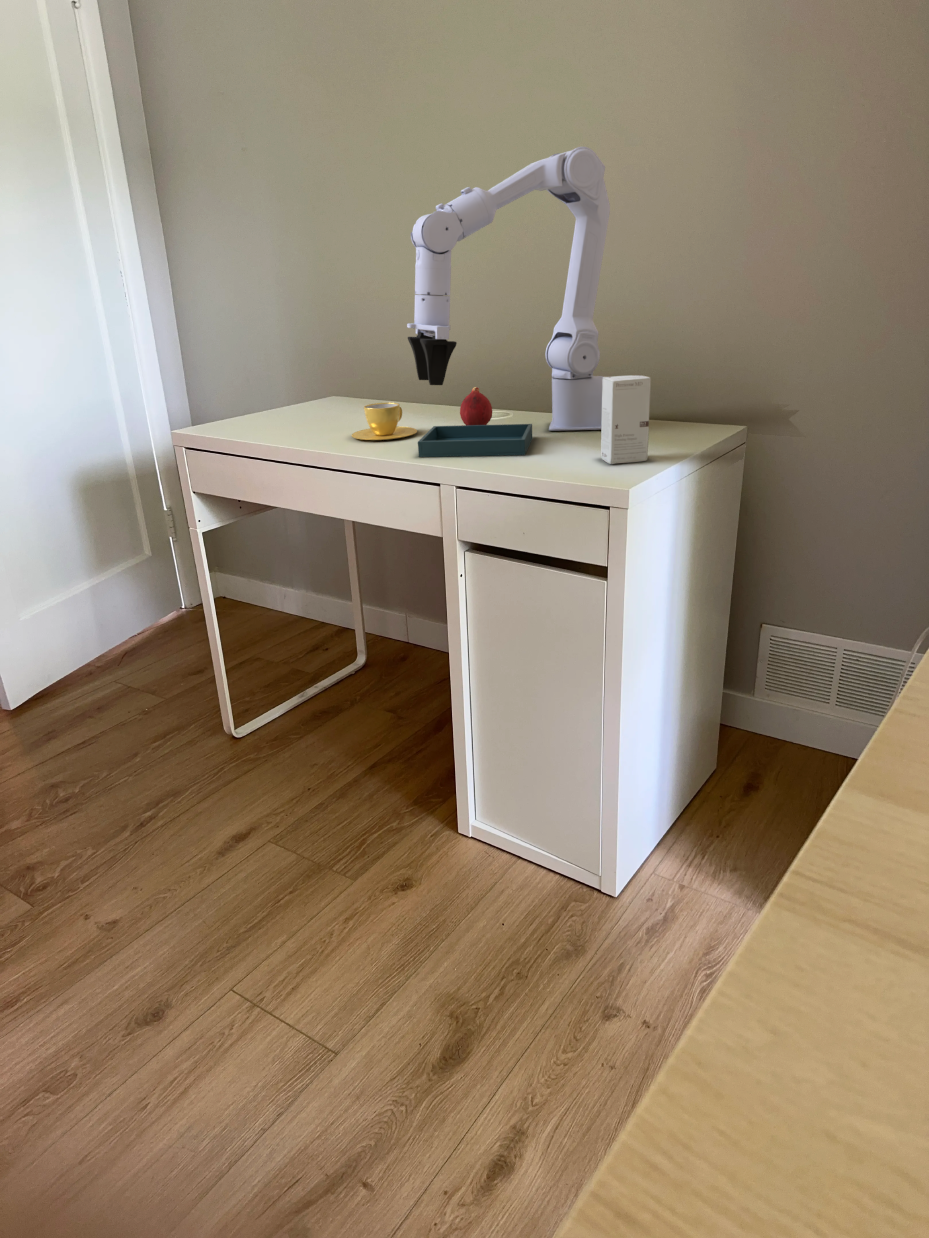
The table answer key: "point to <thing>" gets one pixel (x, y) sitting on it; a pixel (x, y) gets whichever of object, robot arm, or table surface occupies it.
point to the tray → (476, 440)
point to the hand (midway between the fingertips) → (430, 382)
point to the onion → (476, 409)
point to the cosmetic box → (625, 418)
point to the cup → (383, 423)
